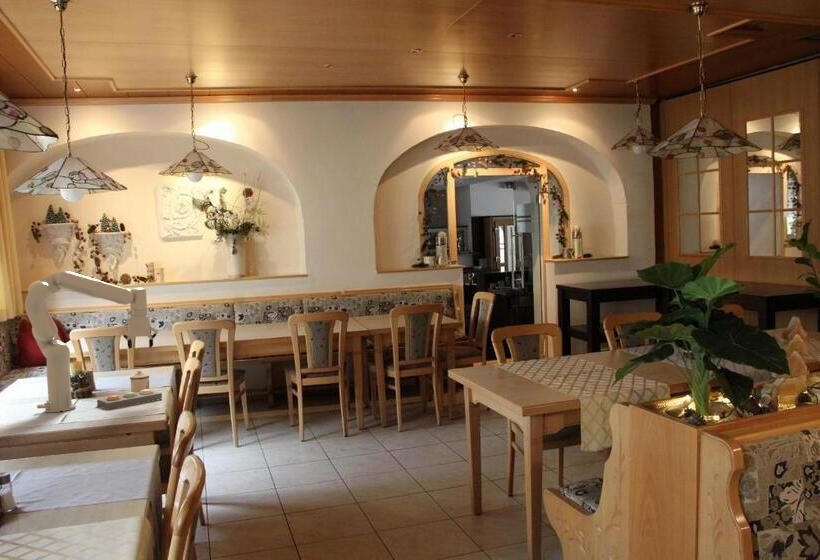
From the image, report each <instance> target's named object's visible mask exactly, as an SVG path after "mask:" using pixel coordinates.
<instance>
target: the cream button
mask: <svg viewBox="0 0 820 560" xmlns="http://www.w3.org/2000/svg"><path fill="white" fill-rule="evenodd" d="M151 390H152V389H151V388H149V389H144V390H141V391H140V393H141V395H146V394H152V393H151Z"/></svg>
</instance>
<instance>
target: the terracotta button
mask: <svg viewBox="0 0 820 560" xmlns="http://www.w3.org/2000/svg"><path fill="white" fill-rule="evenodd" d="M119 396H120V395H119V394H112V395H108V396H107V397H106V398H107V401H114V400H119Z"/></svg>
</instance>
